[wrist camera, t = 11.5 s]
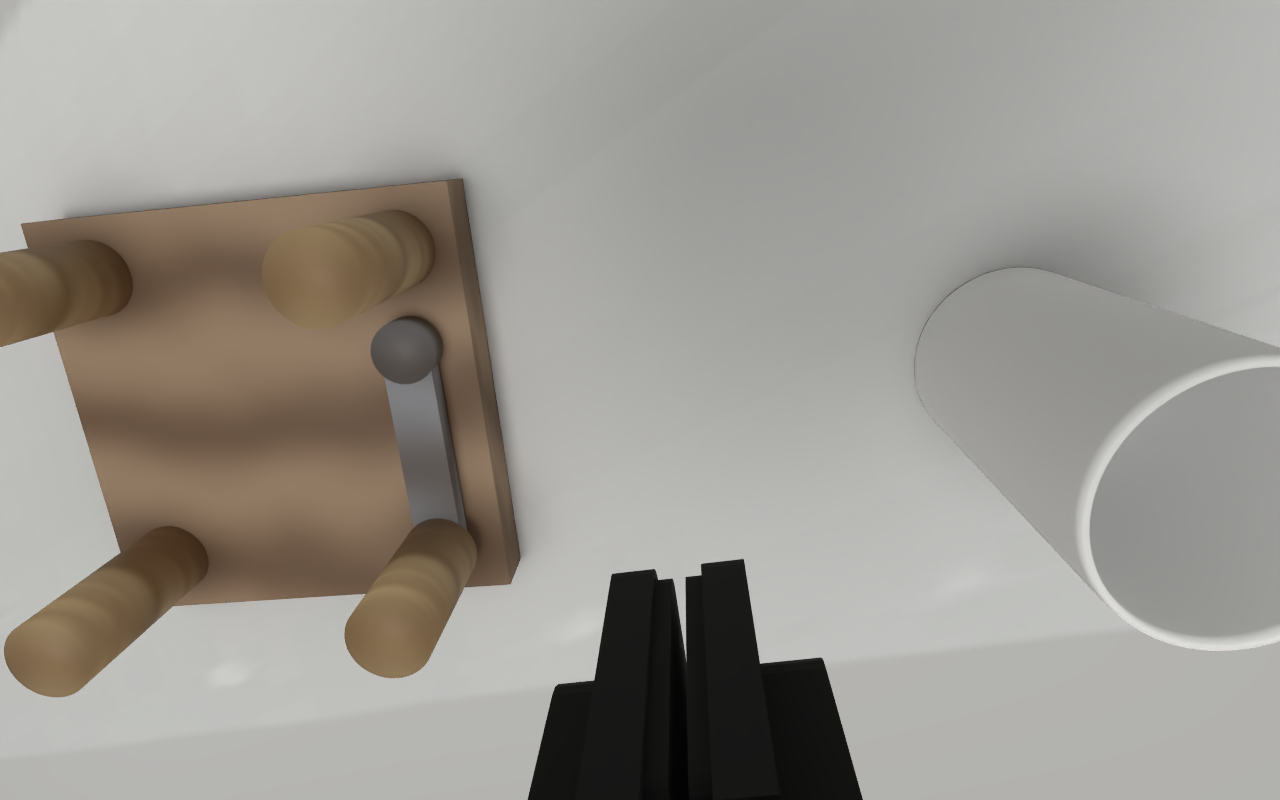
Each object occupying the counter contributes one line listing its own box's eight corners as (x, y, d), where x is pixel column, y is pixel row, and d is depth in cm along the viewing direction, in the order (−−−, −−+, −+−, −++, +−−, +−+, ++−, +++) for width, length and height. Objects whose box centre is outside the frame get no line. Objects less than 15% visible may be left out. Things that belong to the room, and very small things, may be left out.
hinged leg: (368, 319, 34) (282, 366, 27) (443, 312, 34) (377, 358, 27) (418, 575, 38) (354, 680, 30) (487, 570, 38) (439, 675, 30)
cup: (880, 404, 37) (1019, 581, 22) (975, 235, 35) (1204, 302, 20) (1040, 476, 38) (1283, 696, 23) (1143, 315, 36) (1491, 439, 20)
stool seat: (63, 218, 37) (-173, 245, 26) (462, 178, 35) (374, 190, 25) (168, 582, 42) (4, 720, 32) (520, 558, 40) (466, 695, 30)
